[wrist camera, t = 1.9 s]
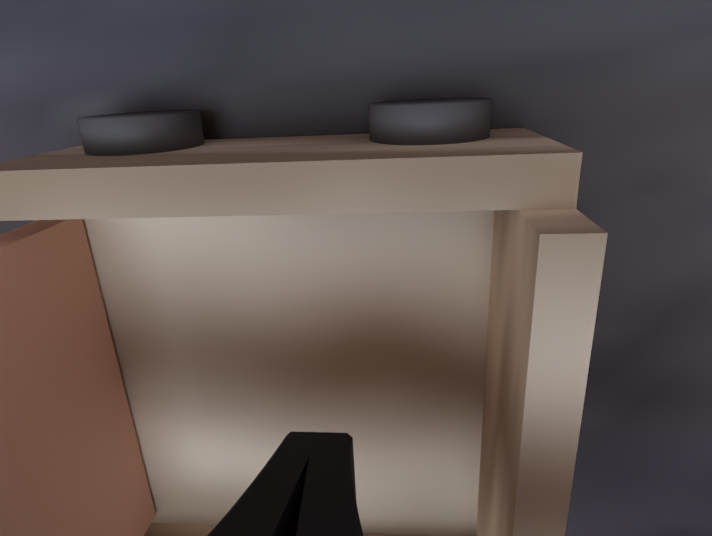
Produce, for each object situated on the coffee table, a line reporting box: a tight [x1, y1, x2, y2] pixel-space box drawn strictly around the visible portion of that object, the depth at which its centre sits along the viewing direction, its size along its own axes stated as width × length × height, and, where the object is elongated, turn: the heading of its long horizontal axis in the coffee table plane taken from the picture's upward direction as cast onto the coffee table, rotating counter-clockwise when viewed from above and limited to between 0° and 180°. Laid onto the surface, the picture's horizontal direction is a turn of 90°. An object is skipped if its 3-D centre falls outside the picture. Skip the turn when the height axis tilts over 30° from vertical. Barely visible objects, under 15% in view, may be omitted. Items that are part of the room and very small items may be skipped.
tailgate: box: [0, 219, 156, 536], centre depth 11 cm, size 1×10×6 cm, turn 2°
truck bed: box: [0, 98, 608, 536], centre depth 13 cm, size 15×12×6 cm
